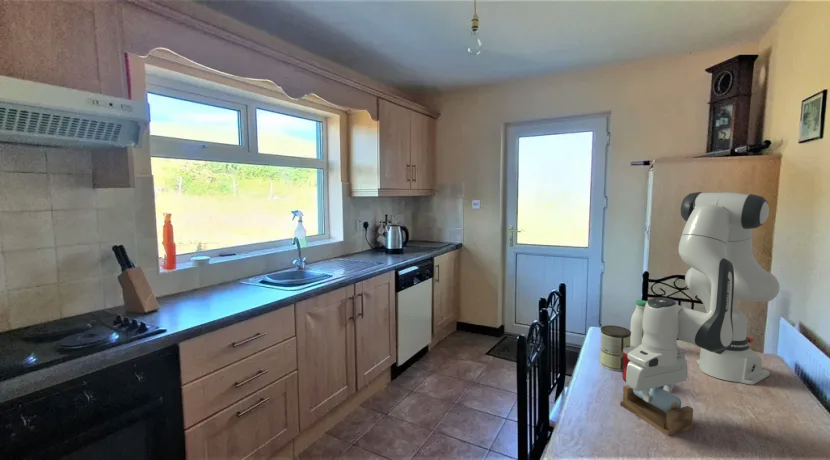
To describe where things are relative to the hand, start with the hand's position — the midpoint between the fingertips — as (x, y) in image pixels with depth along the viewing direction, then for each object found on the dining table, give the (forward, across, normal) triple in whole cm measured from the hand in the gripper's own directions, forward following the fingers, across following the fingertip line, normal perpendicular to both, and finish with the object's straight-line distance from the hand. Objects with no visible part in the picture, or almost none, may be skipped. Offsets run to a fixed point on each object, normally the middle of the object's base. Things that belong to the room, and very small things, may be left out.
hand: (656, 398), depth 112 cm
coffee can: (+6, -15, -30) cm, 34 cm away
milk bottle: (+6, -39, -40) cm, 56 cm away
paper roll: (+2, 0, 0) cm, 2 cm away
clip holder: (+6, 0, 0) cm, 6 cm away
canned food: (+6, -12, -18) cm, 23 cm away
